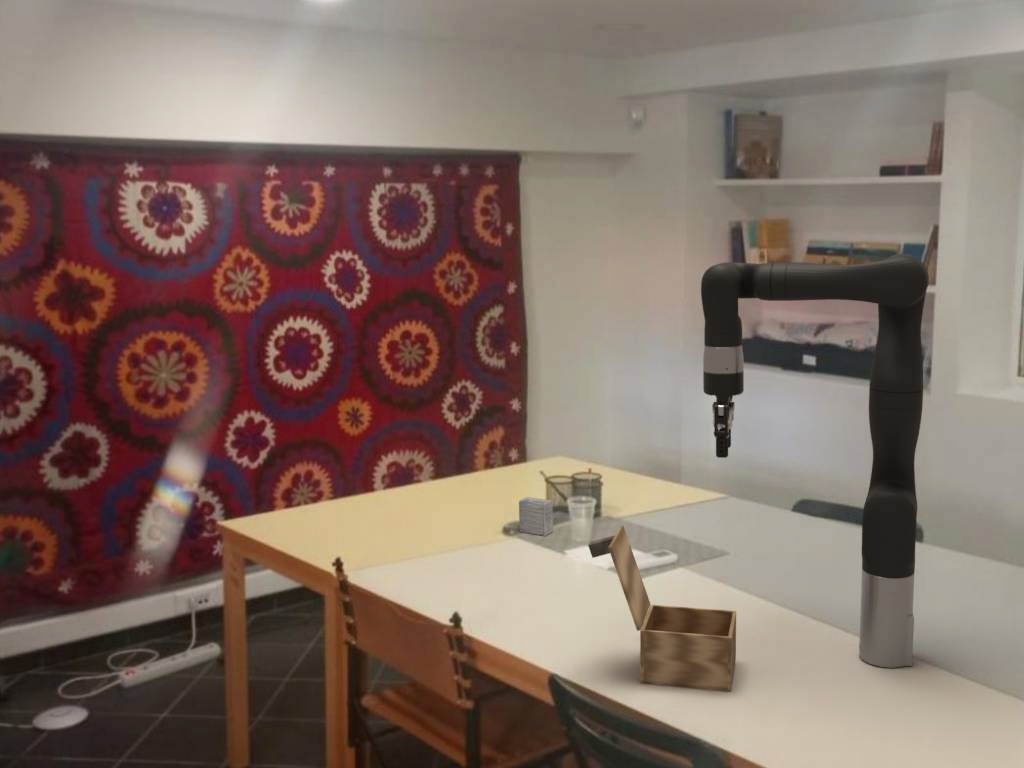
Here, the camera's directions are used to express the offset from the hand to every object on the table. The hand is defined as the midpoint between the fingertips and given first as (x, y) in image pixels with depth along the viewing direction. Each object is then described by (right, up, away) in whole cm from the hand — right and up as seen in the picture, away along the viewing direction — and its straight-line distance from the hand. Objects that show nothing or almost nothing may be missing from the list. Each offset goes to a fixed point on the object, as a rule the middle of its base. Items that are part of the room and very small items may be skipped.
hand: (723, 452), depth 212 cm
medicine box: (-34, -26, +77) cm, 89 cm away
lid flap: (-19, -22, -9) cm, 31 cm away
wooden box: (-8, -40, -9) cm, 42 cm away
